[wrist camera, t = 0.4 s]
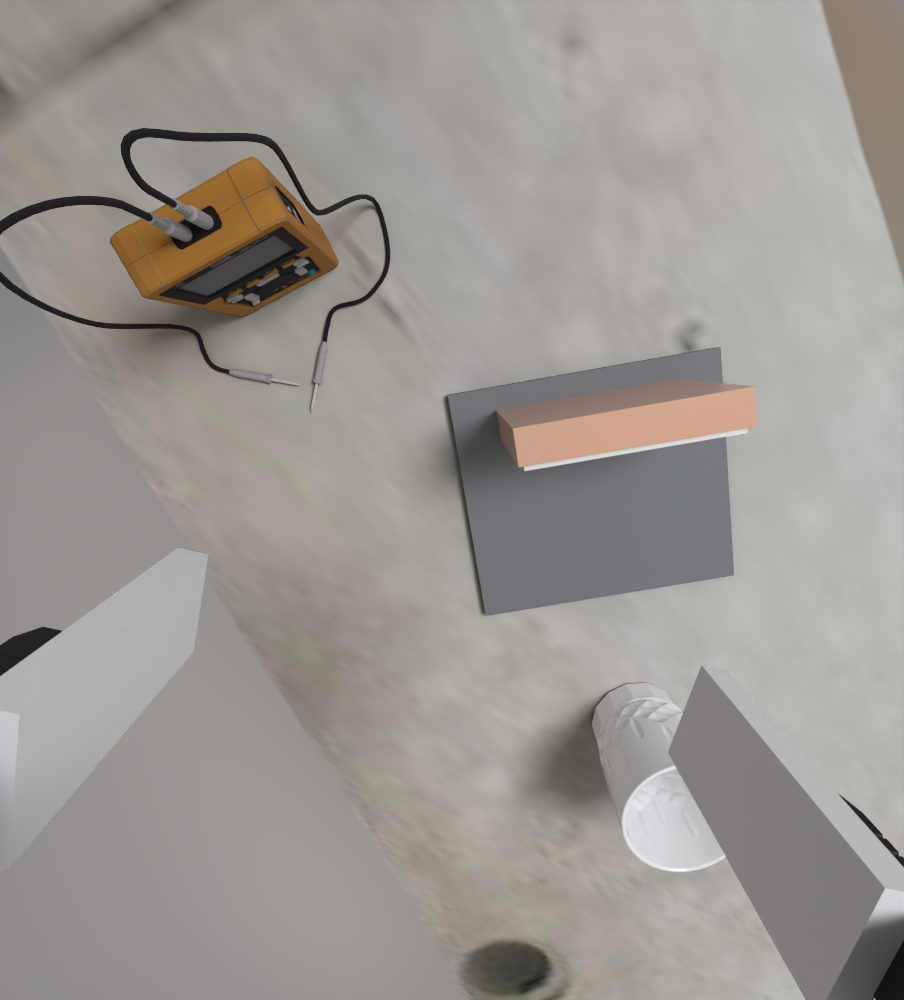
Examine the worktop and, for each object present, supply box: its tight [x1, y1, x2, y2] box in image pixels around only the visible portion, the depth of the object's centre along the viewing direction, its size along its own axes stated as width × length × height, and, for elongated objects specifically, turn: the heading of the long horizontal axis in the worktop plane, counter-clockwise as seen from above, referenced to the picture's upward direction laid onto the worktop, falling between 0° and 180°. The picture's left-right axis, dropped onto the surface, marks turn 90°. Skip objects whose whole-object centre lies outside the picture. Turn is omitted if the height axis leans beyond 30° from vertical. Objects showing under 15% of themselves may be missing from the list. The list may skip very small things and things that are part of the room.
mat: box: [448, 347, 734, 616], centre depth 40 cm, size 16×18×1 cm
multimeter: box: [0, 128, 390, 412], centre depth 28 cm, size 15×10×20 cm
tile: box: [496, 379, 757, 471], centre depth 34 cm, size 2×12×10 cm, turn 100°
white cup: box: [592, 683, 726, 872], centre depth 40 cm, size 8×8×10 cm
